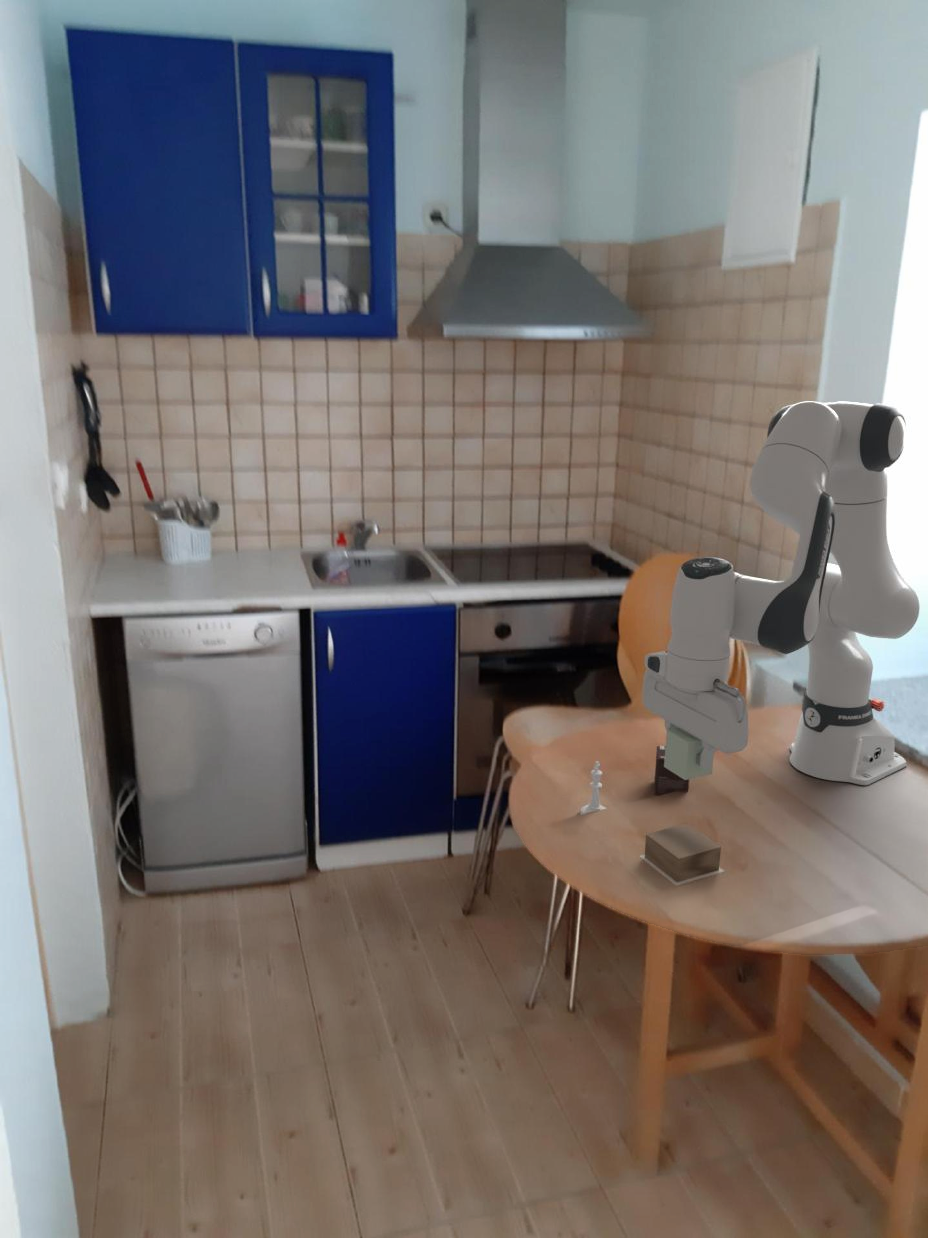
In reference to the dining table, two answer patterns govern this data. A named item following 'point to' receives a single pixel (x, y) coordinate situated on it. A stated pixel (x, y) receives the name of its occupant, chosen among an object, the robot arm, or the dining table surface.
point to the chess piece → (594, 792)
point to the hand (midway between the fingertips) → (689, 757)
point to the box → (667, 777)
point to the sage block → (684, 754)
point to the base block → (682, 852)
